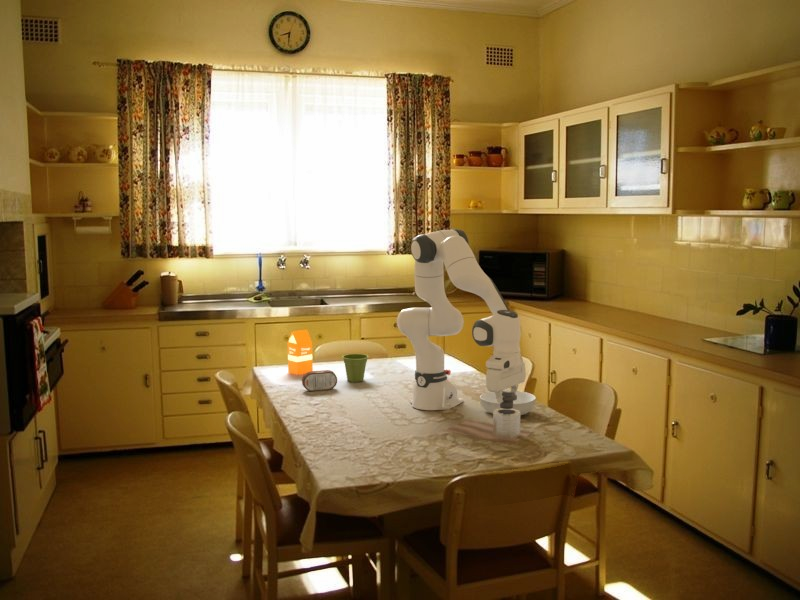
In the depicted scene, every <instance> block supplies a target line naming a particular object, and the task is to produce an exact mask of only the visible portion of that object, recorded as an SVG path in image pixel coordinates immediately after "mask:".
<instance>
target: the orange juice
mask: <svg viewBox="0 0 800 600" xmlns="http://www.w3.org/2000/svg"><path fill="white" fill-rule="evenodd" d="M287 362H288V363H287V365H288V366H287V368H288V369H287V370H288V373H289V372H290V373H289V374H293V373H294V375H297V374H299V375H304V374H306V373H307V372H310V371H314V370H313V342H312V339H311V336H310V333H309V331H308V329H301V330H295V331H291V334H290V336H289V339H288V340H287ZM303 373H304V374H303Z"/></svg>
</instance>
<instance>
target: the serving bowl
mask: <svg viewBox="0 0 800 600" xmlns="http://www.w3.org/2000/svg"><path fill="white" fill-rule="evenodd" d="M503 391H506V392H511V389H510V390H508V389H507V390H506V389H504V390H503ZM516 395H517V400H514V401H513V408H512V409H517V410H519V411H520V416H524V415H527V414H528V413H530V412H531V411H532V410H533V409H534V408H535V405H536V400H537V397H536V395H535V394H532V393H529V392H528V391H527V392H526V391H520V390H517V392H516ZM479 401H480V404H481V407H482V408H483V410H485V411H486V412H487V413H489V414H492V415H493V410H495V409H500V403H498V402H497V399H496V394H495V392H490V391H487V392H484V393H482V394H480V395H479Z"/></svg>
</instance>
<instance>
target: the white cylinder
mask: <svg viewBox="0 0 800 600" xmlns="http://www.w3.org/2000/svg"><path fill="white" fill-rule="evenodd" d="M492 424H493V436H495V437H496V438H501V439H515V438H518V437H520V430H521V415H520V411H519V410H517V409H503V408H500V409H495V410H493V414H492Z"/></svg>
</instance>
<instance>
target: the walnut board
mask: <svg viewBox="0 0 800 600" xmlns="http://www.w3.org/2000/svg"><path fill="white" fill-rule="evenodd" d="M444 431H446V432H449V433H450V432H451V433H455V434H459V435H464V436H469V437H473V438H478V439H483V440H487V441H492V442H496V443H501V444H505V445H513V444H514V443H516V442H518V441H521V440H522V439H524V438H526V437H528V436H530V435H532V434H534V432H533V431H528V430H525V429H520V437H518V438H515V439H501V438H496V437H495V436H493V423H489V422H485V421H480V420H475V419H467V420H465V421H462V422H459V423H457V424H455V425H452V426H451V427H448V428H446V429H444Z"/></svg>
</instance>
